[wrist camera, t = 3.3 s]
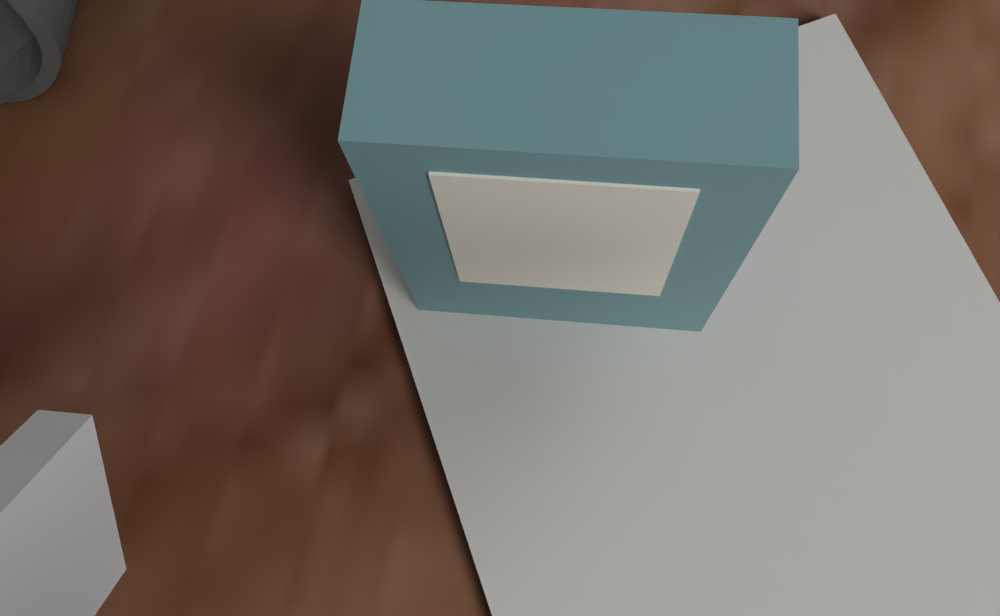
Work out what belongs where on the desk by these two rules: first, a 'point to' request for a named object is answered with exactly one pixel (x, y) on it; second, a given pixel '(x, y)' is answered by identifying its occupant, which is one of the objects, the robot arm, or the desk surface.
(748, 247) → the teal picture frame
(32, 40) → the bluetooth speaker
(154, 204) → the desk surface
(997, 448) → the mat
